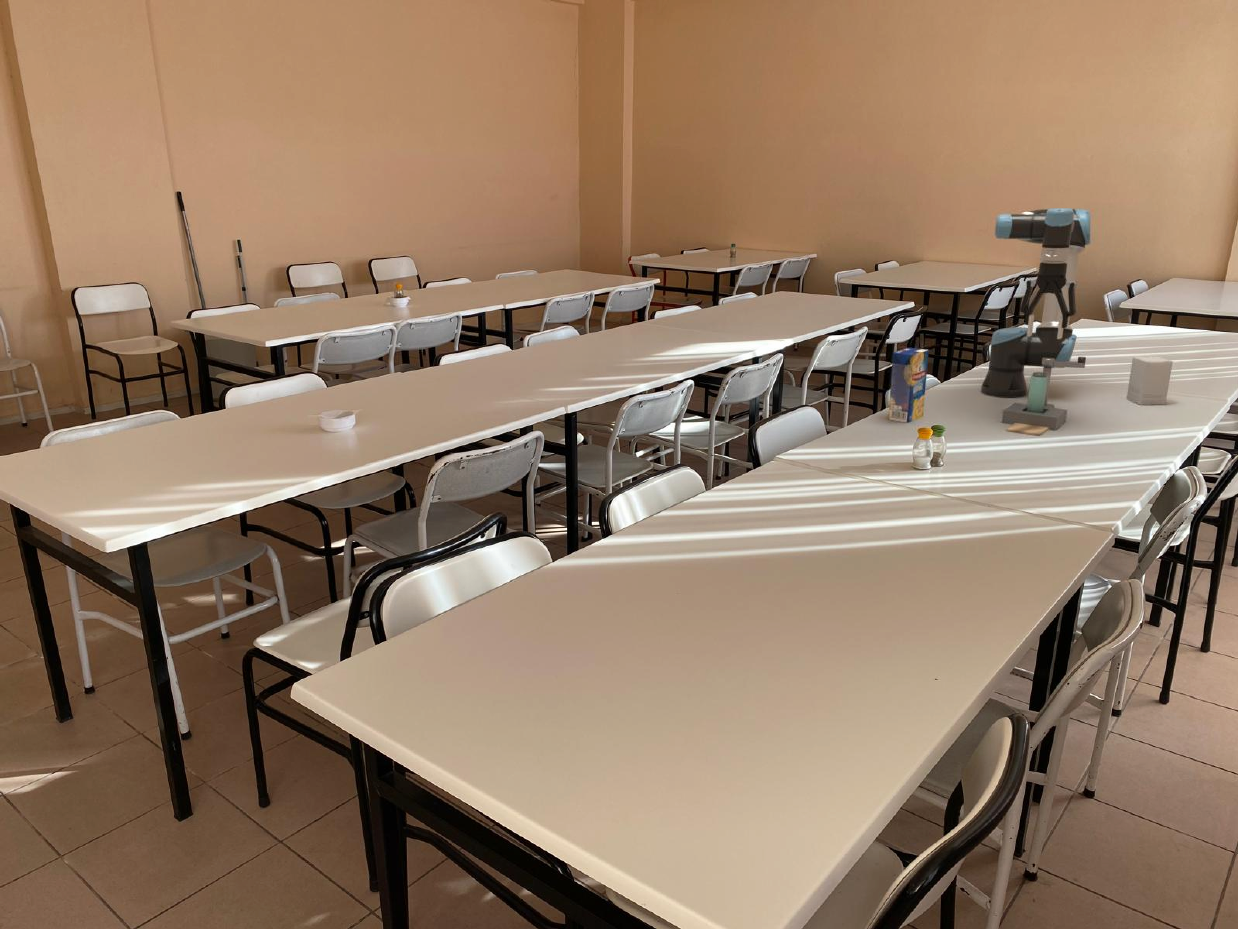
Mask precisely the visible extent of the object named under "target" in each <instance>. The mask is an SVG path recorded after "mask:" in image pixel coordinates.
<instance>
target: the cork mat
mask: <svg viewBox="0 0 1238 929" xmlns="http://www.w3.org/2000/svg"><path fill="white" fill-rule="evenodd" d="M1048 430H1049V427H1042V426H1035V425H1028V424H1021V423H1014V424H1010V426H1008V427H1007V428H1005V432H1011V433H1018V434H1022V435H1023V434H1024V435H1031V436H1036V435H1039V436H1038V437H1041V436H1042V435H1043V434H1045V433H1046V432H1047V431H1048ZM1045 431H1046V432H1045ZM1044 432H1045V433H1044ZM1040 435H1041V436H1040Z"/></svg>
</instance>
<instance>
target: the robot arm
mask: <svg viewBox="0 0 1238 929" xmlns="http://www.w3.org/2000/svg"><path fill="white" fill-rule="evenodd" d="M994 228H995V229H994V235H995V238H996V239H1001V240H1002V239H1003V240H1018V241H1021V242H1022V241H1023V242H1025V243H1026V242H1027V243H1030V244H1031V243H1032V244H1040V245H1041V251H1040V263H1039V265H1038V266H1039V267H1038V273H1037V274H1038V277H1037V278H1036V279H1028V280H1026V282H1025V283H1026V284H1025V285H1026V290H1025V291H1024V292H1025V293H1024V296H1023V298H1022V303H1021V306H1020V309H1019V312H1020V313H1023V314H1025V319H1024V320H1025V321H1024V325H1025V326H1027V327H1025V326H1024V327H1022V326H1018V327H1016V326H1015V327H1007V328H1005V327H1004V328H1000V329H997V330H995V331H994V332H993V333H992V337H991V341H990V352H989V362H988V370H987V373H986V375H985V377H984V380H983V382H982V384H981V387H980V393H982V394H984V395H988V396H991V397H999V398H1020V397H1021V398H1022V397H1025V396H1026V395H1027V391H1028V386H1027V382H1026V378H1025V373H1024V372H1025V371H1024V370H1025V366H1026V367H1041V368H1043V366H1042V358H1054V359H1055V361H1071V359H1072V355H1073V353H1074V349H1075V345H1076V342H1077V335H1076V334H1074V333H1073V331H1074V328H1072V327H1071V325H1070V319H1071V318H1070V317H1072V316H1074V315H1076V313H1077V309H1076V306H1077V305H1076V293H1075V291H1076V287H1077V282H1076V277H1077V270H1078V269H1077V268H1078V263H1079V262H1078V261H1079V256H1080V254H1081V253H1083V252H1084V251H1085V249H1086V246H1089V245H1090V244H1091V213H1090V211H1089V210H1088V209H1079V208H1067V207H1066V208H1063V207H1062V208H1049V209H1046V208H1045V209H1044V208H1043V209H1035V210H1034V209H1033V210H1030V211H1024V212H1021V213H1005V214H1004V213H1003V214H999V215H998V216H997V217H996V221H995V227H994ZM1036 284H1037V287H1038V288H1039V290H1038V291H1037V292H1036V295H1035V296H1034V298H1033V300H1032V301H1031V302H1030V299H1031V295H1032V292H1033V289H1034V287H1035V286H1036ZM1043 295H1045V296H1044V301H1043V302H1044V304H1043V310H1042V317H1041V318H1042V319H1041V323H1040V324H1038V325H1037V326H1036V327H1035V332H1033V329H1034V321H1035V314H1033V312H1034V310H1035V309H1036V307H1037V305H1038V303H1039V302H1040V300H1041V298H1042V297H1043ZM1029 302H1030V305H1029ZM1051 368H1052V369H1054V368H1055V369H1056V368H1058V369H1064V368H1066V367H1051Z"/></svg>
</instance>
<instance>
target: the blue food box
mask: <svg viewBox="0 0 1238 929" xmlns="http://www.w3.org/2000/svg"><path fill="white" fill-rule="evenodd" d="M928 361H929V349H923V348H916V347H915V348H913V347H907V348H904V349H901V350H897V351H895V352H894V351H893V352H892V364H891V376H890V378H891V379H890V393H889V403H888V404H889V405H888V417H887V418H888V420H889V421H895V422H902V423H910V422H913V421H915V420H918V419H920V418H922V417H923V416H924V410H925V408H924V407H925V398H926V396H925V395H926V384H927V372H928Z"/></svg>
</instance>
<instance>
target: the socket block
mask: <svg viewBox="0 0 1238 929" xmlns="http://www.w3.org/2000/svg"><path fill="white" fill-rule="evenodd" d="M1052 369H1053V368H1052V367H1042V373H1046V374H1047V376H1048V379H1047V387H1046V395H1045V403H1044V411H1043V414H1042V413H1034V412H1027V404H1028V403H1027V404H1025V403H1019V402H1013V403H1012V404H1011V405H1009V406H1008V407H1006V408H1005V409H1003V410H1002V417H1001V423H1002V424H1008V425H1012V424H1014V423H1021V424H1028V425H1035V426H1042V427H1049V429H1050V431H1051V430H1052V431H1056V430H1058V429H1059V428H1060V427H1061V426H1062V425H1064V424H1065V423H1066V422H1067V415H1068V409H1064V408H1056V407H1055V404H1053V403H1051V404H1050V403H1048V400H1049V392H1050V391H1049V390H1050V384H1051V376H1052ZM1049 429H1048V430H1049Z"/></svg>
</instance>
